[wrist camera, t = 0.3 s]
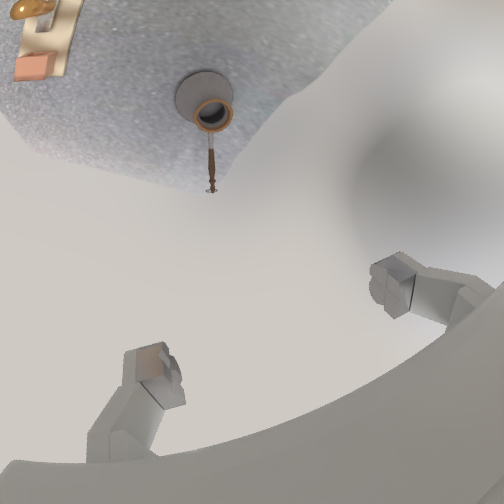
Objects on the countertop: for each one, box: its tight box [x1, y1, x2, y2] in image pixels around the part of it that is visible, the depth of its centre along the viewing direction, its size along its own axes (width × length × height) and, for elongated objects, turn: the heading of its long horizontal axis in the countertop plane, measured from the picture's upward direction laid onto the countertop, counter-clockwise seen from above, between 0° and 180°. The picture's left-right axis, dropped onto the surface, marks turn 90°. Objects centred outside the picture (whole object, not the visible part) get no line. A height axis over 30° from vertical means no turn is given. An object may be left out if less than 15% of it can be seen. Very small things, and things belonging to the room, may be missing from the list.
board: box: [18, 0, 84, 76], centre depth 23 cm, size 27×11×2 cm, turn 156°
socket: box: [14, 51, 57, 82], centre depth 28 cm, size 4×7×5 cm
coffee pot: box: [175, 72, 233, 193], centre depth 49 cm, size 21×12×15 cm, turn 173°
